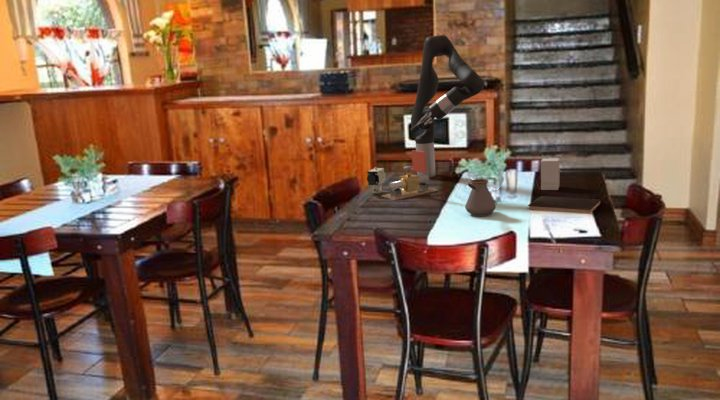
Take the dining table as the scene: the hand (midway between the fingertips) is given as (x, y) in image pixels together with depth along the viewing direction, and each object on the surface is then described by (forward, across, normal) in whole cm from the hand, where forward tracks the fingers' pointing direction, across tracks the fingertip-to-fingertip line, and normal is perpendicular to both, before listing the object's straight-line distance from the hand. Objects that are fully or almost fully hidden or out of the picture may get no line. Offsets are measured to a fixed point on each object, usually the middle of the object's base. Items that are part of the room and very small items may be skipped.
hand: (411, 131), depth 273 cm
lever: (+9, +5, +14) cm, 17 cm away
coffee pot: (-8, +47, +33) cm, 58 cm away
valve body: (+18, +3, +21) cm, 28 cm away
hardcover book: (-34, +36, +55) cm, 73 cm away
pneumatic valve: (+31, -2, +13) cm, 34 cm away
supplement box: (-30, +3, +57) cm, 65 cm away
